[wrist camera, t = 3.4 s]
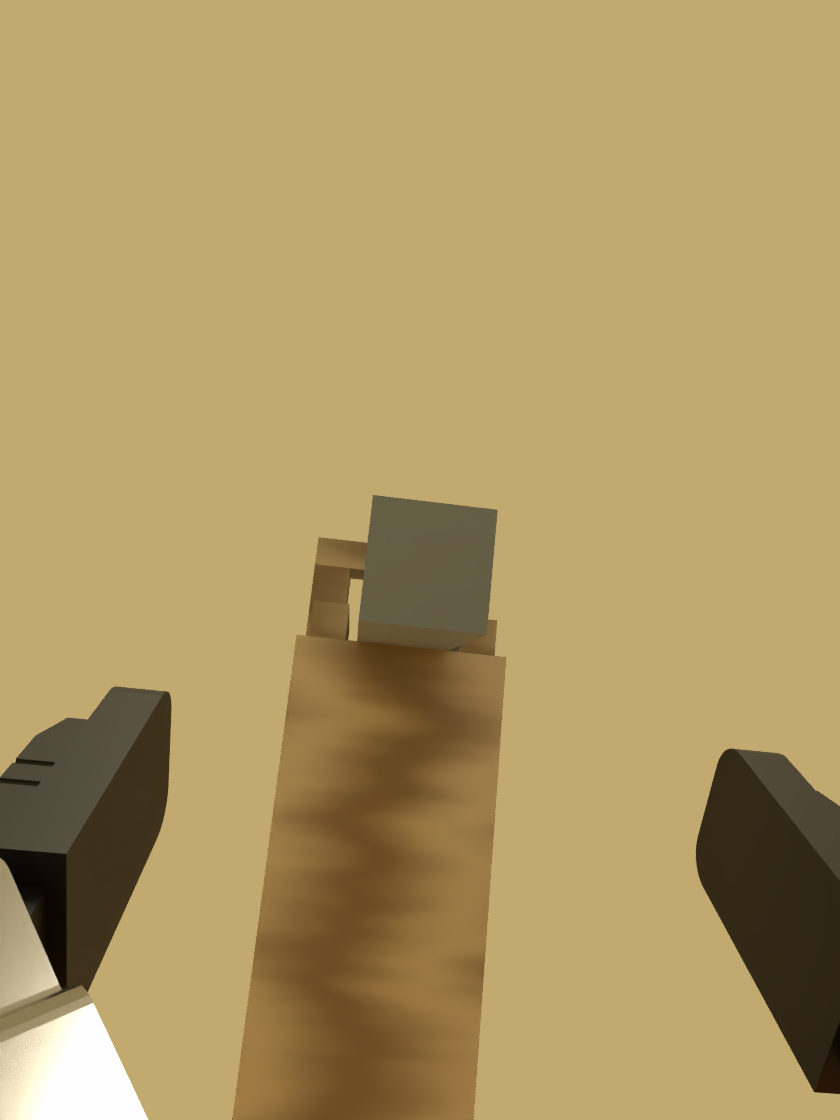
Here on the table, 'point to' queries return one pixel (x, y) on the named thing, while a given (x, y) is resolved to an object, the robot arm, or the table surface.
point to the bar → (426, 574)
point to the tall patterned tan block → (374, 875)
